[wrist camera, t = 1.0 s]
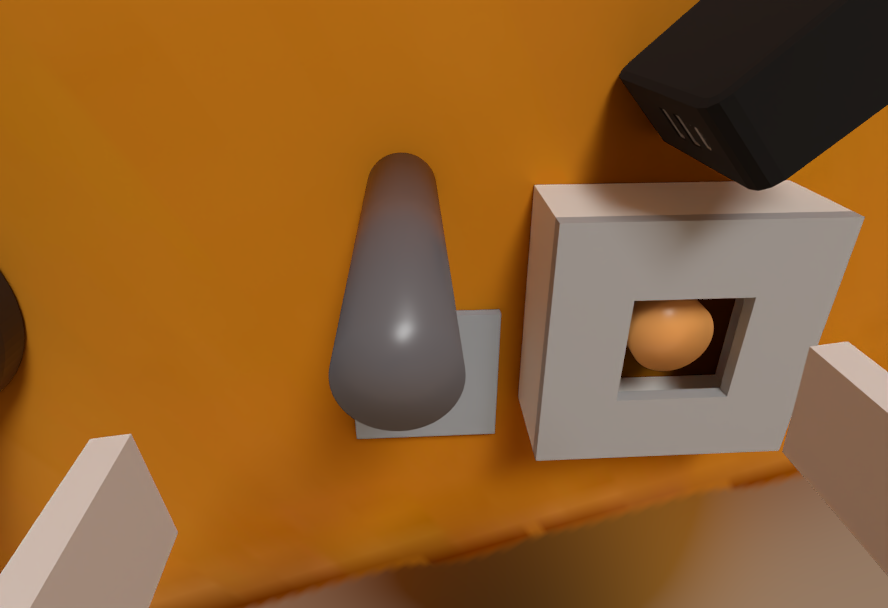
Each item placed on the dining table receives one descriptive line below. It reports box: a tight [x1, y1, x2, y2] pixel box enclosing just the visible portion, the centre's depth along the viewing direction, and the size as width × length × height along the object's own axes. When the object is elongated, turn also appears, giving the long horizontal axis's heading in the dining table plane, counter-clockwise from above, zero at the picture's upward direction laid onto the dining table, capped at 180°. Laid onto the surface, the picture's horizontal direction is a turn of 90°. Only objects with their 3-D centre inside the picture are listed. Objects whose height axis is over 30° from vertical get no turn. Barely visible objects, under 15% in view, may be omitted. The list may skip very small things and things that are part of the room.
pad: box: [355, 309, 501, 439], centre depth 36 cm, size 9×9×1 cm
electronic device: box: [619, 0, 888, 191], centre depth 23 cm, size 4×10×10 cm, turn 132°
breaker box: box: [518, 180, 865, 461], centre depth 32 cm, size 14×14×6 cm
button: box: [627, 299, 714, 371], centre depth 31 cm, size 4×4×2 cm
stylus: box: [329, 153, 466, 431], centre depth 23 cm, size 4×4×17 cm
